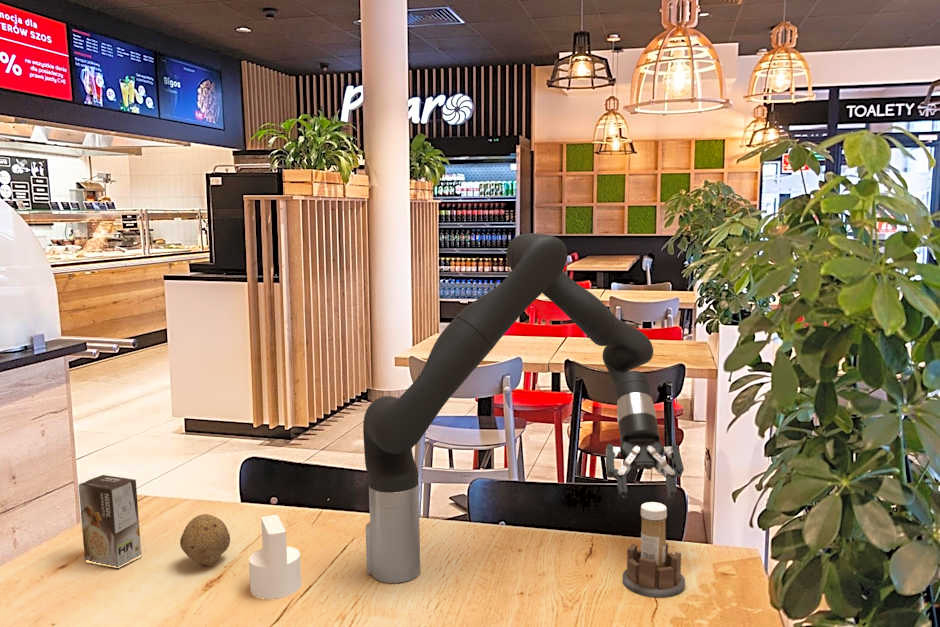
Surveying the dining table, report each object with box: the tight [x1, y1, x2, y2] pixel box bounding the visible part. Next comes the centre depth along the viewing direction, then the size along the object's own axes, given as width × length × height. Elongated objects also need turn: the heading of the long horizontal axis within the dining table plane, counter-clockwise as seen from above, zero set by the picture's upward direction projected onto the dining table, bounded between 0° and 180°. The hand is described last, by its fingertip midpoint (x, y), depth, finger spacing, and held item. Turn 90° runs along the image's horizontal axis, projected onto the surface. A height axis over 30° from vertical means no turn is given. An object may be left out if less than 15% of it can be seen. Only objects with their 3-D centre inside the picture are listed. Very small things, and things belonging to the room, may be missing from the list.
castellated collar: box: [622, 542, 686, 599], centre depth 141 cm, size 11×11×6 cm
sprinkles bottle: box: [640, 501, 668, 582], centre depth 140 cm, size 5×5×14 cm
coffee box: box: [78, 474, 142, 567], centre depth 153 cm, size 9×6×16 cm
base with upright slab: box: [248, 514, 302, 600], centre depth 140 cm, size 9×9×12 cm
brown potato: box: [179, 513, 231, 566], centre depth 151 cm, size 9×9×10 cm
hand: (648, 496), depth 145 cm, fingers open, 8 cm apart
